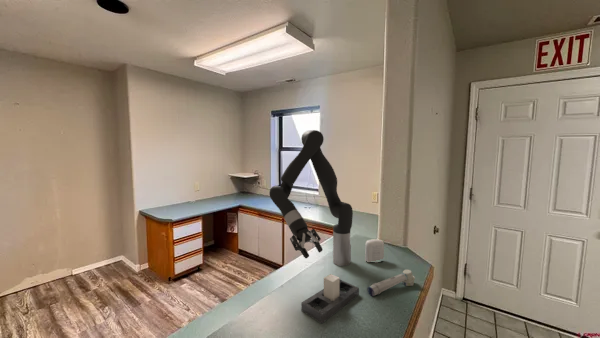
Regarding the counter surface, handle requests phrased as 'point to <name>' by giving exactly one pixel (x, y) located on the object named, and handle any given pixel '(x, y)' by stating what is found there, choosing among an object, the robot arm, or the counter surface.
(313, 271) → the counter surface
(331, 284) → the peg
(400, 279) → the grey knobbed rod
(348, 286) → the grey holed base
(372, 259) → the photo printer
